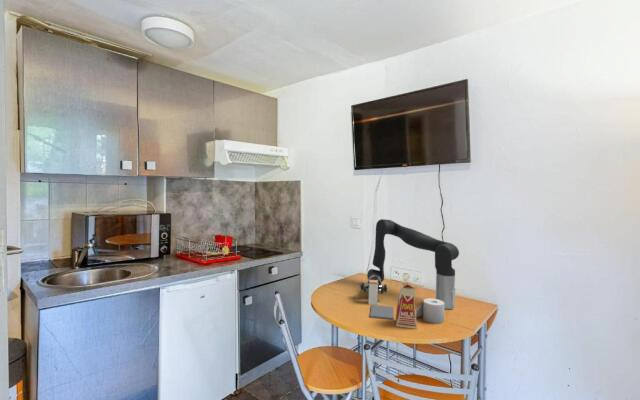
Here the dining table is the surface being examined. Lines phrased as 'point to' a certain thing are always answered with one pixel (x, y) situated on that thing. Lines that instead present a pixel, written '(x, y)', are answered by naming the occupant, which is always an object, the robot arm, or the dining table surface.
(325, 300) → the dining table surface
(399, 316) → the milk carton
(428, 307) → the toilet tissue
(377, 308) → the mat
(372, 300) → the block
